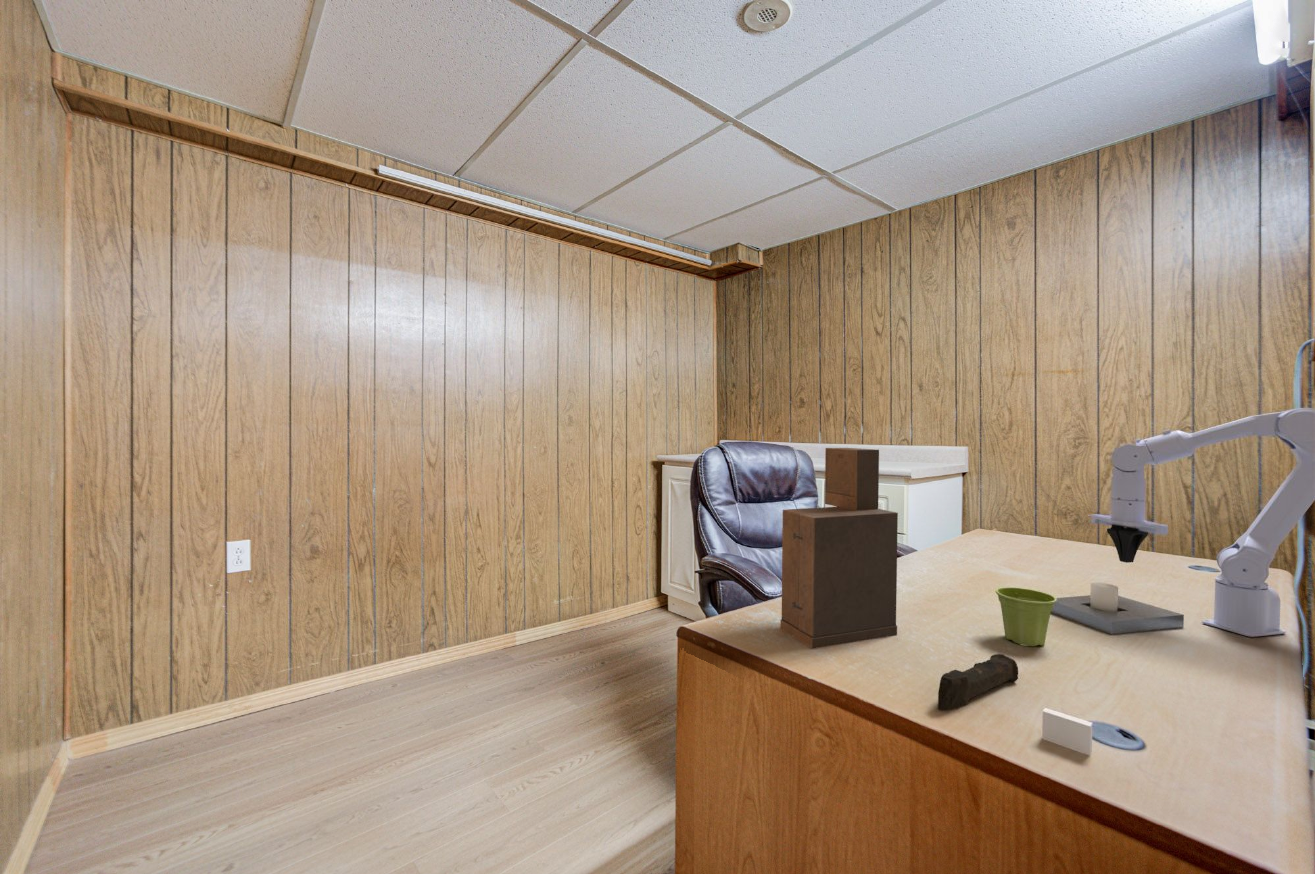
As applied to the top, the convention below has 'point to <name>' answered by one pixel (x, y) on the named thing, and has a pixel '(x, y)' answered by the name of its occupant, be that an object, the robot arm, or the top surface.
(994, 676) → the dark brown ridged bar
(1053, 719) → the eraser
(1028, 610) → the plant pot
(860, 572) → the stacked wooden boxes
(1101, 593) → the white rounded cylinder
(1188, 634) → the top surface
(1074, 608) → the plate
